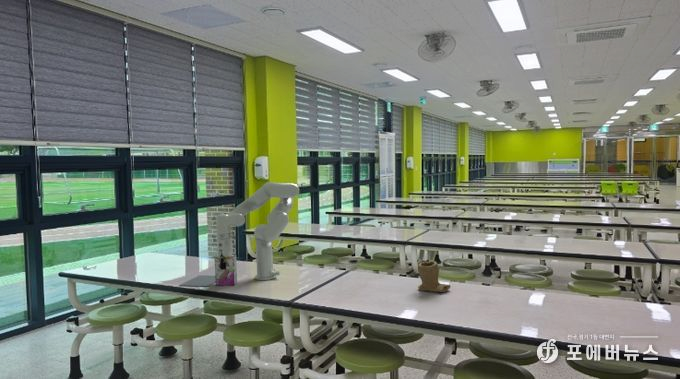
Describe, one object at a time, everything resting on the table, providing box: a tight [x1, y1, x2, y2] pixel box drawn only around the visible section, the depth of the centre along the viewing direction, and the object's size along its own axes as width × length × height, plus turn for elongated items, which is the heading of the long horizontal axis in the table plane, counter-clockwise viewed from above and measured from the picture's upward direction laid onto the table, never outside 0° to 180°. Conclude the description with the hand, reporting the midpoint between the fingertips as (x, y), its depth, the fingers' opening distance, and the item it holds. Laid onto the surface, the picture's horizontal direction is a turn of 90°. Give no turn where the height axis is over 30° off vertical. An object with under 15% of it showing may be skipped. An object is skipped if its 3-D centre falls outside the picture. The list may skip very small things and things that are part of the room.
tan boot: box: [417, 260, 451, 293], centre depth 228 cm, size 15×12×15 cm
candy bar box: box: [214, 254, 238, 286], centre depth 253 cm, size 11×5×16 cm, turn 84°
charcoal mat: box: [179, 274, 216, 288], centre depth 262 cm, size 18×22×1 cm
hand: (225, 267), depth 253 cm, fingers closed on candy bar box, 5 cm apart
